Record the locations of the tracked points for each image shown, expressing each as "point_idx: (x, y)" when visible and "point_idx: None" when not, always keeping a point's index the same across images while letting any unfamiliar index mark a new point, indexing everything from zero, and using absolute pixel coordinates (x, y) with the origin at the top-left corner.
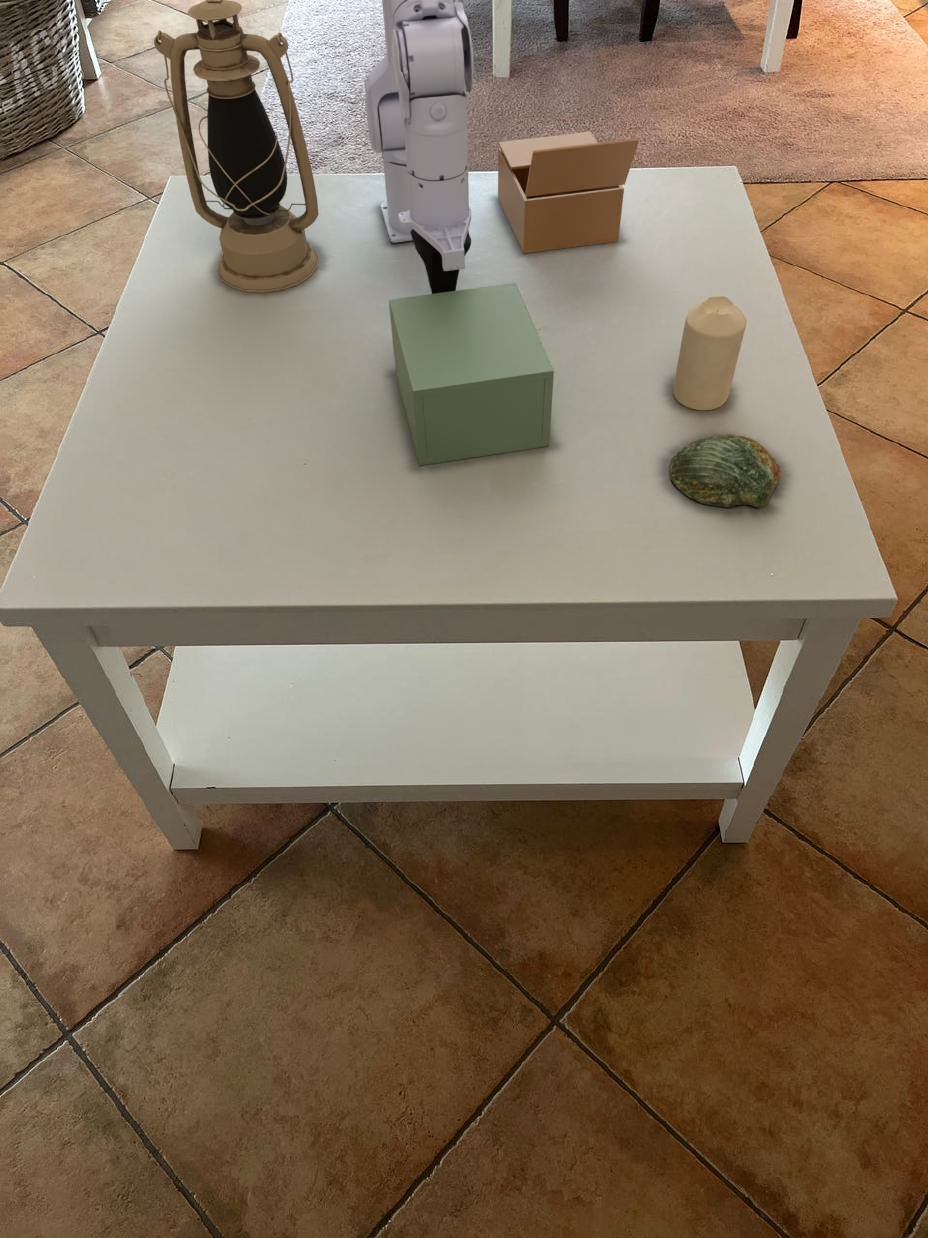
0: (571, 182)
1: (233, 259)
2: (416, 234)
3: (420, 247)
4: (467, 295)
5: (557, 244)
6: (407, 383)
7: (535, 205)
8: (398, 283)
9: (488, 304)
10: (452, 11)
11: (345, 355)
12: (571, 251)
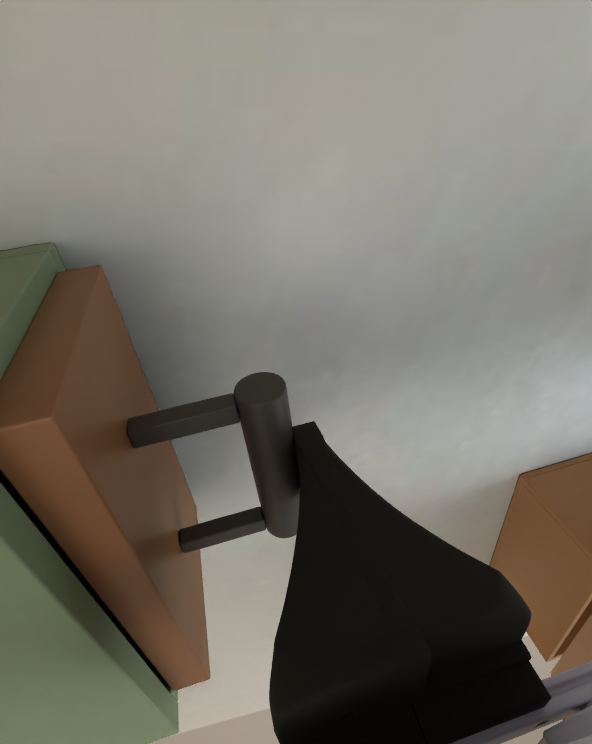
0: (589, 657)
1: None
2: (452, 637)
3: (280, 711)
4: (70, 688)
5: (511, 522)
6: None
7: (587, 571)
8: (542, 233)
9: (17, 736)
10: None
11: (163, 10)
12: (491, 530)
